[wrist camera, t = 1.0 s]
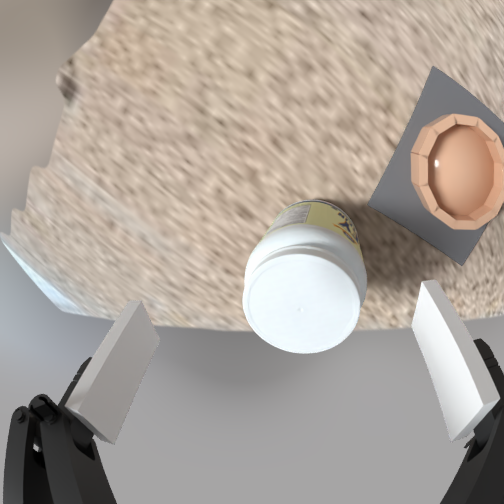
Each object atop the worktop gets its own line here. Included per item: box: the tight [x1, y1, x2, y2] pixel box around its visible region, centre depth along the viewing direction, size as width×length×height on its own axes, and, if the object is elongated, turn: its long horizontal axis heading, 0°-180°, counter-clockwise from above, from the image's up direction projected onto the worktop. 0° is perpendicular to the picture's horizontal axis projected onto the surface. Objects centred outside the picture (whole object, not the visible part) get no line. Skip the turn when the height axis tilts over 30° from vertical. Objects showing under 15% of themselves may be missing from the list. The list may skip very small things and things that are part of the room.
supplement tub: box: [243, 200, 367, 353], centre depth 31 cm, size 12×12×17 cm
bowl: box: [411, 114, 504, 230], centre depth 27 cm, size 14×14×4 cm
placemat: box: [367, 66, 504, 266], centre depth 29 cm, size 22×18×1 cm
